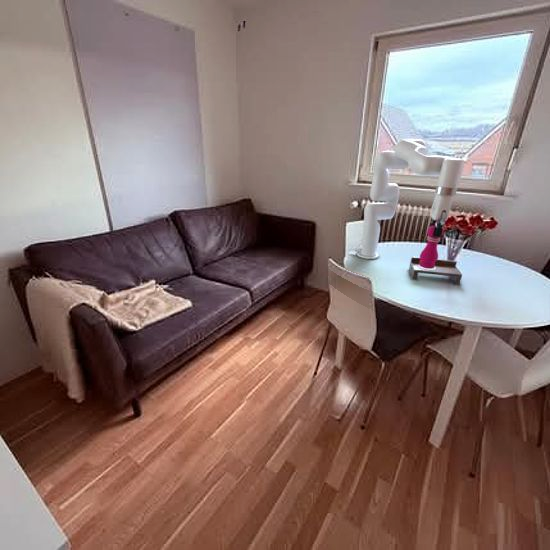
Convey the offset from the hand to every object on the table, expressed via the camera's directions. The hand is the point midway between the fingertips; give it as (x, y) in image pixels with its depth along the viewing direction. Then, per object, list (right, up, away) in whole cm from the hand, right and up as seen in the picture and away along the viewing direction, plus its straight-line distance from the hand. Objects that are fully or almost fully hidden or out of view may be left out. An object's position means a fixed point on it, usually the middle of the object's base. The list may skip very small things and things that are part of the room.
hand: (434, 233), depth 132 cm
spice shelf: (+14, -19, +29) cm, 37 cm away
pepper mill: (0, -14, +7) cm, 15 cm away
